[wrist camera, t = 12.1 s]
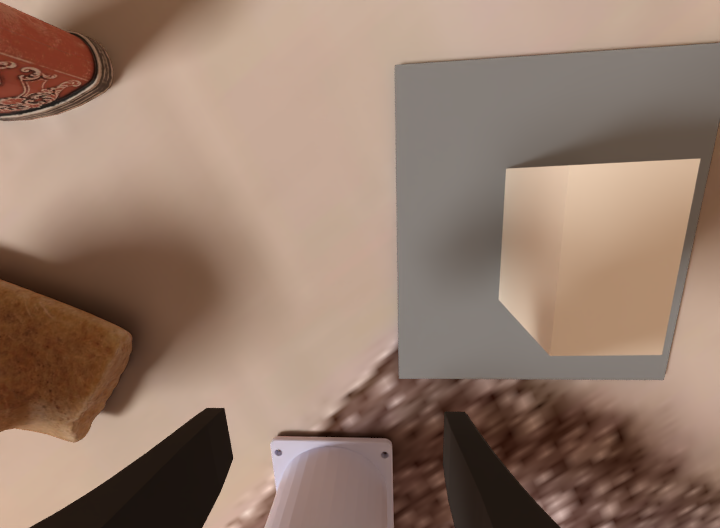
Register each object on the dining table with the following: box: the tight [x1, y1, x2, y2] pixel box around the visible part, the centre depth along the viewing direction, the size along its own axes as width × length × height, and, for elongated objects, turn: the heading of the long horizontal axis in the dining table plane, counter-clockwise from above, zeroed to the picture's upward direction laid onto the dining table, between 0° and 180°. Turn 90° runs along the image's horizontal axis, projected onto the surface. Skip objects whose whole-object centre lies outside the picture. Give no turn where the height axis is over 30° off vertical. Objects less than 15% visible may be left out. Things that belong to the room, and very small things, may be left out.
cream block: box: [499, 158, 701, 356], centre depth 15 cm, size 4×7×6 cm, turn 3°
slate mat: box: [395, 43, 720, 380], centre depth 18 cm, size 17×15×1 cm
